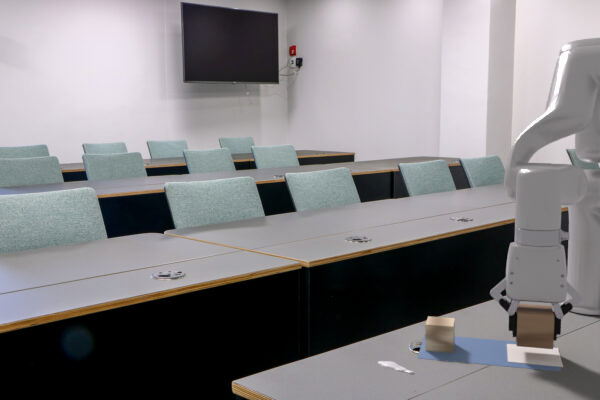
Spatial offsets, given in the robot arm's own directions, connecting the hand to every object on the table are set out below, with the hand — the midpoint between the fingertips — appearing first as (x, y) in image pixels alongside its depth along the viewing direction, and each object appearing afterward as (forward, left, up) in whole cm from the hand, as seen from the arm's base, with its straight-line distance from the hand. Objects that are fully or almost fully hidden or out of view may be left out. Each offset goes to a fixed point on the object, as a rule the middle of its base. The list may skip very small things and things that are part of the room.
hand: (533, 335), depth 112 cm
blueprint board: (+5, -6, -5) cm, 9 cm away
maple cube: (+10, -13, -4) cm, 17 cm away
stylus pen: (+23, -15, -5) cm, 29 cm away
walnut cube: (0, 0, -1) cm, 1 cm away
